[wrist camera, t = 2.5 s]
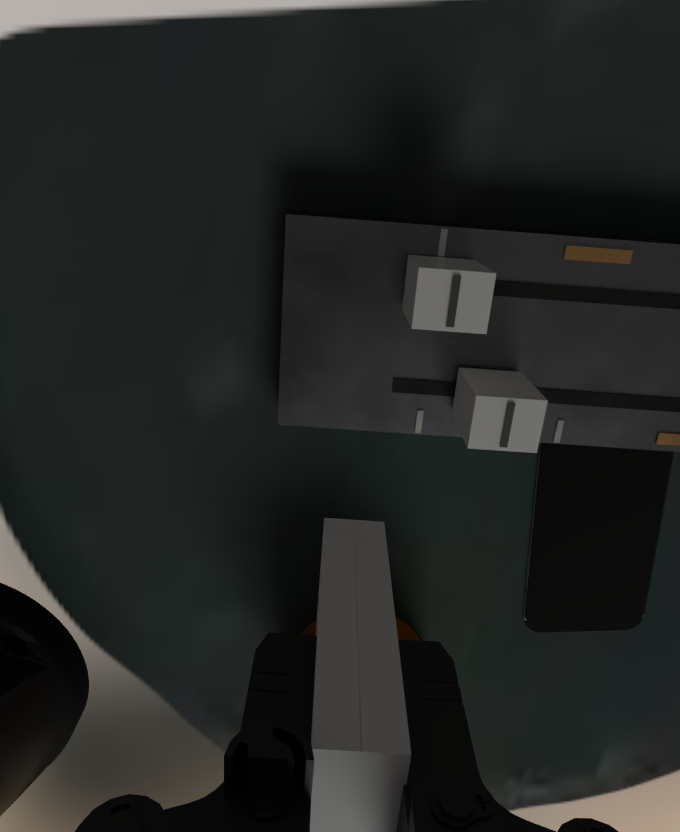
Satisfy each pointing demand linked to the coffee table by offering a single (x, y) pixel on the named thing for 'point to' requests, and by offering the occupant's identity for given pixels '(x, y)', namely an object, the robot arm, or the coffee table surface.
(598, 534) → the smartphone
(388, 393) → the console
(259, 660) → the robot arm
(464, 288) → the block
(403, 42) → the coffee table surface
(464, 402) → the fader
